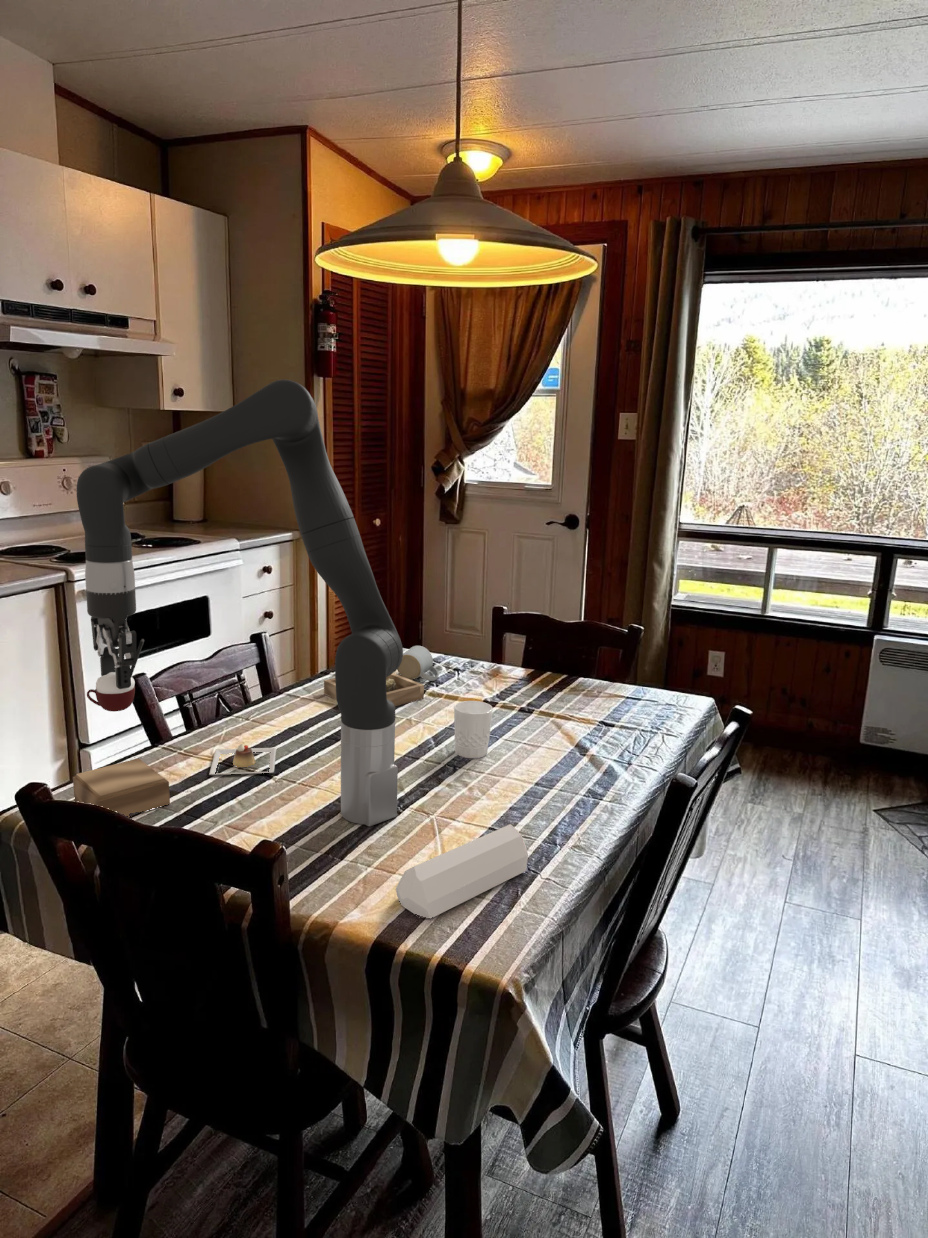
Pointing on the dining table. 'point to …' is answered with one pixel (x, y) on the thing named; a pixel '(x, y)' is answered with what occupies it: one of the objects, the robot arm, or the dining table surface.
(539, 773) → the dining table surface
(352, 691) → the robot arm
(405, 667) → the ceramic mug
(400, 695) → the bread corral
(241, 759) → the dessert
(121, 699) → the cocoa
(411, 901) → the crystal
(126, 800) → the walnut pedestal
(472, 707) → the white cup
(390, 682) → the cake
